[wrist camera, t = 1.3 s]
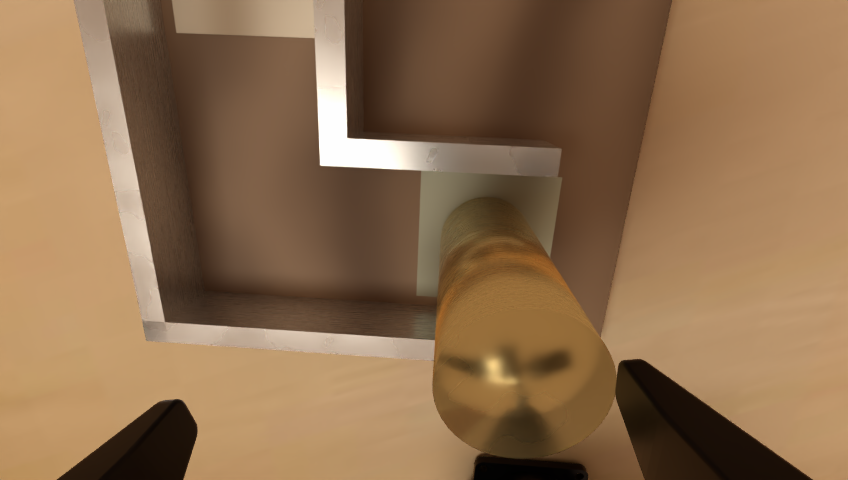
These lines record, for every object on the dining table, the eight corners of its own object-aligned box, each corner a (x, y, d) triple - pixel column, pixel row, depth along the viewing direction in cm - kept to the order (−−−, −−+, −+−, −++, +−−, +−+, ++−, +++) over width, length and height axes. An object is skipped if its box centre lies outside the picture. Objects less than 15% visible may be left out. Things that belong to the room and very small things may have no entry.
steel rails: (581, -148, 14) (615, -211, 11) (517, 329, 20) (528, 367, 17) (109, -157, 14) (27, -218, 12) (187, 307, 21) (146, 340, 18)
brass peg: (535, 199, 18) (634, 314, 8) (524, 283, 19) (598, 465, 10) (443, 194, 18) (437, 302, 8) (438, 277, 19) (428, 452, 10)
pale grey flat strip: (686, -145, 15) (708, -166, 13) (589, 338, 21) (597, 353, 20) (93, -156, 16) (63, -177, 14) (177, 311, 22) (161, 323, 21)
